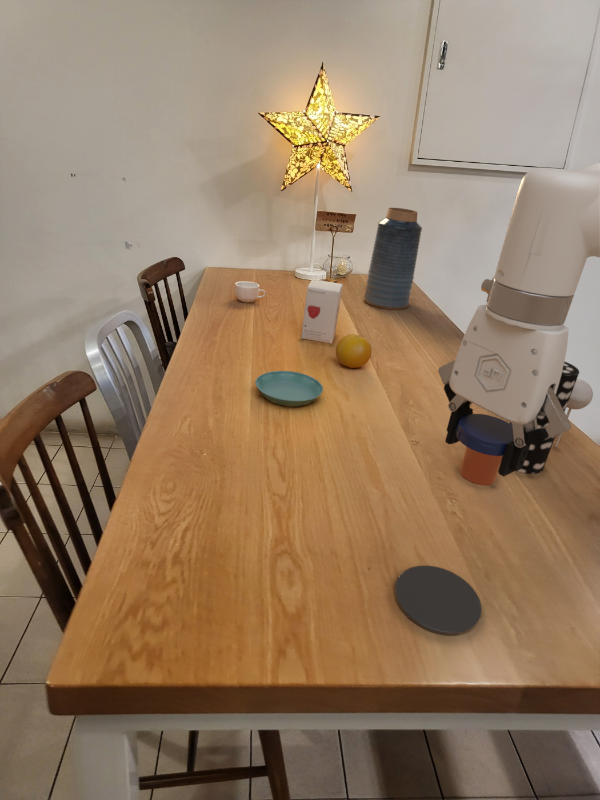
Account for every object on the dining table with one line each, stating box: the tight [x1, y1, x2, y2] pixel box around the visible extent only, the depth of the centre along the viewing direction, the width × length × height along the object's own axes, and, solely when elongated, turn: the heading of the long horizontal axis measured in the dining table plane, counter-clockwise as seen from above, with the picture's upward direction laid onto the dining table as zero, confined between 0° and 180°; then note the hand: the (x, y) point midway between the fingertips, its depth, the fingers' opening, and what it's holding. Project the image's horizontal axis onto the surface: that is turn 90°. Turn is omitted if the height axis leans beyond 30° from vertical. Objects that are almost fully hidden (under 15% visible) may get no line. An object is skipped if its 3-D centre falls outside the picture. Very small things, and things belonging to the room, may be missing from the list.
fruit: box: [335, 333, 372, 369], centre depth 135 cm, size 9×8×8 cm
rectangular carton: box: [300, 278, 344, 344], centre depth 150 cm, size 9×9×15 cm
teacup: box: [234, 280, 266, 304], centre depth 175 cm, size 10×8×5 cm
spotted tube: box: [508, 360, 580, 475], centre depth 99 cm, size 8×8×20 cm
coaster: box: [394, 565, 483, 637], centre depth 69 cm, size 11×11×1 cm
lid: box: [455, 413, 514, 456], centre depth 60 cm, size 6×6×2 cm
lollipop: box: [554, 378, 594, 448], centre depth 106 cm, size 6×6×15 cm
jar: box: [459, 446, 503, 486], centre depth 95 cm, size 6×6×10 cm
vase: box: [363, 207, 423, 311], centre depth 184 cm, size 16×16×32 cm
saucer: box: [254, 370, 324, 408], centre depth 117 cm, size 15×15×3 cm
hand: (480, 454), depth 61 cm, fingers closed on lid, 6 cm apart
